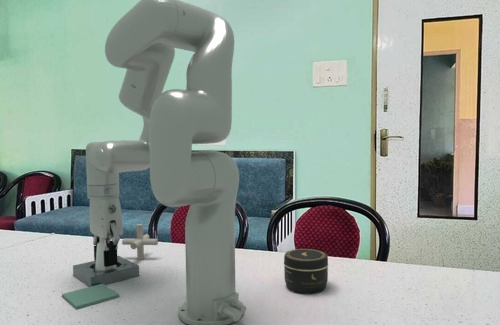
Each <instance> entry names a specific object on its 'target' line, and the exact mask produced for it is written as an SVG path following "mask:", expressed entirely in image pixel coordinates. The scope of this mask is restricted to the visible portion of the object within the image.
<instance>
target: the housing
mask: <svg viewBox="0 0 500 325" xmlns="http://www.w3.org/2000/svg"><path fill="white" fill-rule="evenodd" d="M95 265H96V261H95V260H93V261H88V262H82V263H77V264H74V265H72V276H73V277H74V278H76V279H77V280H79V281H80V282H82V283H83V284H84V285H86V287H91V286H95V285H99V284H104V285H106V286H107V285H110V284H113V283H117V282H120V281H121V282H122V281H125V280H129V279H132V278H136V277H139V276H140V265H139V264H137V263H135V262H133V261H131V260H128V259H126V258H124V257H123V256H120V255H117V265H116V267H117V268H113V269H108V270H104V271H95Z"/></svg>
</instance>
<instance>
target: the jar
mask: <svg viewBox="0 0 500 325" xmlns="http://www.w3.org/2000/svg"><path fill="white" fill-rule="evenodd" d="M283 265H284V266H283V268H284V270H283V271H284V282H285V286H286V287H287V289H288V290H289V291H291V292H294V293H297V294H303V295H314V294H320V293H322V292H323V291H325V290H326V288H327V284H328V275H329V273H328V272H329V268H328V266H329V258H328V255H327V253H326V252H323V251H322V250H319V249H318V250H317V249H312V248H296V249H291V250H289V251H286V252H285V253H284V256H283Z"/></svg>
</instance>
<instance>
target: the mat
mask: <svg viewBox="0 0 500 325" xmlns="http://www.w3.org/2000/svg"><path fill="white" fill-rule="evenodd" d="M61 298H63V299H64V300H65V301H66V302H68V304H70V305H71V306H72V307H73V308H74V309H76V310H79V309H83V308H87V307H89V306H92V305H96V304H101V303H103V302H107V301H110V300H114V299H116V298H120V293H118V292H116V291H115V290H114V289H112V288H111V287H109V286H108V285H107V284H106V285H104V284H99V285H95V286H91V287H89V286H86V287H84V288H80V289H77V290H73V291H68V292H64V293H61Z"/></svg>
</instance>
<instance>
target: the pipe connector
mask: <svg viewBox="0 0 500 325" xmlns="http://www.w3.org/2000/svg"><path fill="white" fill-rule="evenodd" d="M121 241H122V242H121V244H122V246H123V245H124V246H127V245H128V246H130V249H132V250H136V253H137V254H136V256H137V260H138V261H139V260H140V261H142V260H144V259H145V254H144V252H145V250H144V249H145V248H144V246H158V244H159V239H158V238H151V237H150V235H149V234H147V233H146V234H144V224H142V223H137V224H136V238H122V240H121Z"/></svg>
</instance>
